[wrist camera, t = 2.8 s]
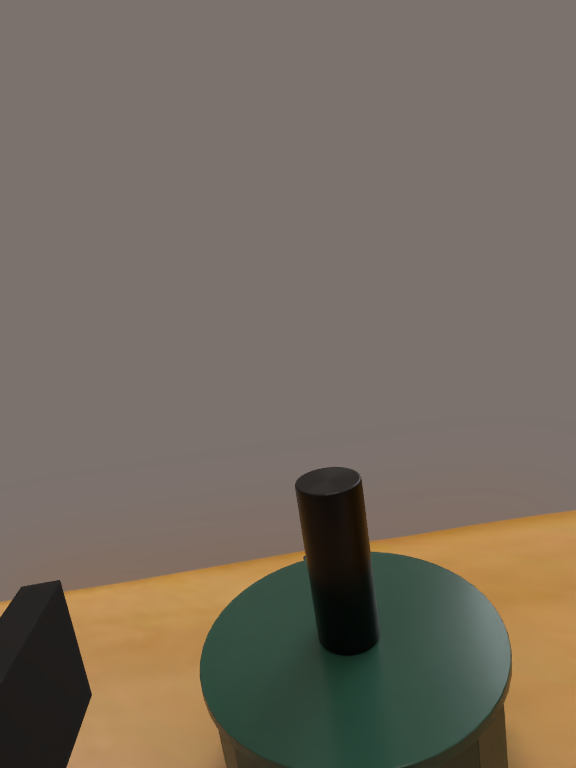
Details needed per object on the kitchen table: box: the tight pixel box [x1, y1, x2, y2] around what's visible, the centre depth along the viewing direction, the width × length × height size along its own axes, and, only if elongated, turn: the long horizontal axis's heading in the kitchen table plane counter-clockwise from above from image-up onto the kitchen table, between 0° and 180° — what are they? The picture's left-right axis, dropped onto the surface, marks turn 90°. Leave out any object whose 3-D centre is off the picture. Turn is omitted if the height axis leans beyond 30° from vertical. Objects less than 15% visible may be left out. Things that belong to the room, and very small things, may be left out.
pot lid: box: [200, 467, 512, 768], centre depth 22 cm, size 13×13×8 cm
